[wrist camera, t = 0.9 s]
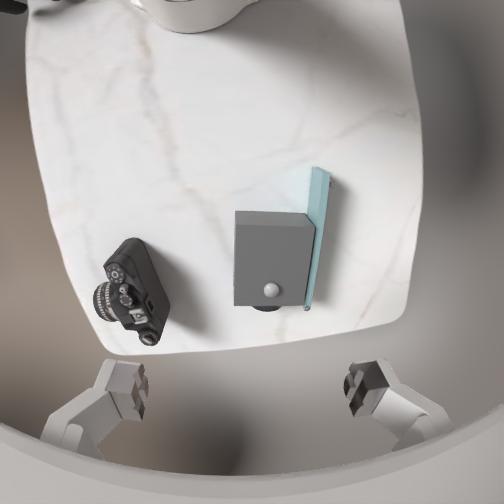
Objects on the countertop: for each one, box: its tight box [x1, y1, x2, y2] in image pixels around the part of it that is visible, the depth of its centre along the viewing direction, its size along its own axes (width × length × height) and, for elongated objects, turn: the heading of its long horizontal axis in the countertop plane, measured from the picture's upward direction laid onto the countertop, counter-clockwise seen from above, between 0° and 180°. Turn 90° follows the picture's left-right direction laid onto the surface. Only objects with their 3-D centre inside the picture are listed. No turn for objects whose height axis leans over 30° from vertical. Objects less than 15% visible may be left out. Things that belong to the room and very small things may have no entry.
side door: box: [303, 167, 334, 311], centre depth 40 cm, size 20×2×5 cm, turn 177°
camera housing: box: [233, 211, 315, 312], centre depth 41 cm, size 13×10×7 cm
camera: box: [93, 237, 170, 346], centre depth 40 cm, size 14×11×10 cm
